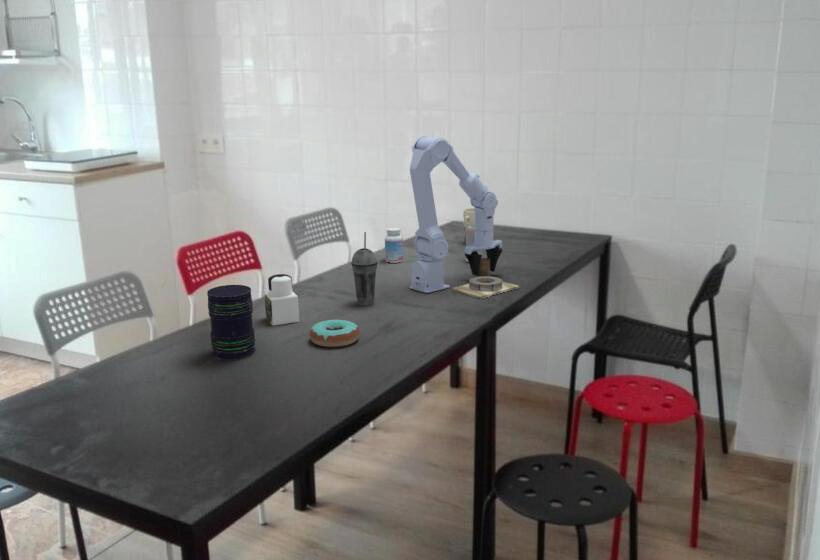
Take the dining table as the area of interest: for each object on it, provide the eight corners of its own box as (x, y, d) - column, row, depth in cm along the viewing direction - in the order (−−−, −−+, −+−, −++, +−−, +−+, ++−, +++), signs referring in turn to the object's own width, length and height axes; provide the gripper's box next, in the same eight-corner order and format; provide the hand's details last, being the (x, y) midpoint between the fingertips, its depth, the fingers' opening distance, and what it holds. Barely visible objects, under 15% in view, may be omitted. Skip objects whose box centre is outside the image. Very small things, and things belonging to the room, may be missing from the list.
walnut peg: (483, 280, 233) (483, 261, 231) (474, 278, 236) (474, 259, 234) (492, 278, 235) (492, 259, 234) (483, 275, 238) (483, 257, 237)
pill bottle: (403, 263, 255) (402, 230, 252) (384, 263, 255) (384, 230, 252) (403, 259, 261) (402, 227, 258) (385, 259, 261) (385, 227, 258)
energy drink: (481, 259, 258) (481, 225, 255) (481, 263, 253) (481, 228, 250) (465, 259, 259) (466, 225, 256) (465, 263, 254) (465, 228, 251)
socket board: (481, 299, 213) (481, 289, 213) (451, 290, 222) (451, 281, 222) (519, 288, 224) (519, 279, 223) (489, 280, 232) (489, 271, 232)
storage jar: (215, 363, 169) (210, 298, 165) (208, 349, 178) (203, 287, 174) (260, 356, 173) (255, 293, 169) (251, 342, 181) (246, 282, 177)
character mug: (472, 240, 288) (472, 206, 285) (488, 242, 284) (489, 208, 281) (456, 246, 280) (456, 211, 276) (473, 248, 276) (473, 212, 272)
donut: (348, 330, 190) (347, 314, 189) (367, 344, 180) (367, 328, 179) (302, 338, 185) (302, 322, 184) (320, 353, 175) (319, 336, 174)
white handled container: (265, 318, 200) (262, 274, 197) (292, 314, 202) (289, 271, 199) (272, 326, 193) (269, 280, 190) (299, 322, 196) (297, 277, 193)
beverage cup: (348, 305, 209) (345, 234, 204) (358, 298, 216) (356, 229, 211) (372, 308, 207) (370, 236, 202) (382, 300, 213) (380, 230, 208)
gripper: (476, 235, 224) (476, 279, 228) (509, 228, 233) (508, 271, 237) (459, 231, 229) (459, 275, 233) (492, 225, 238) (492, 267, 242)
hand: (483, 273), depth 235 cm, fingers open, 7 cm apart
